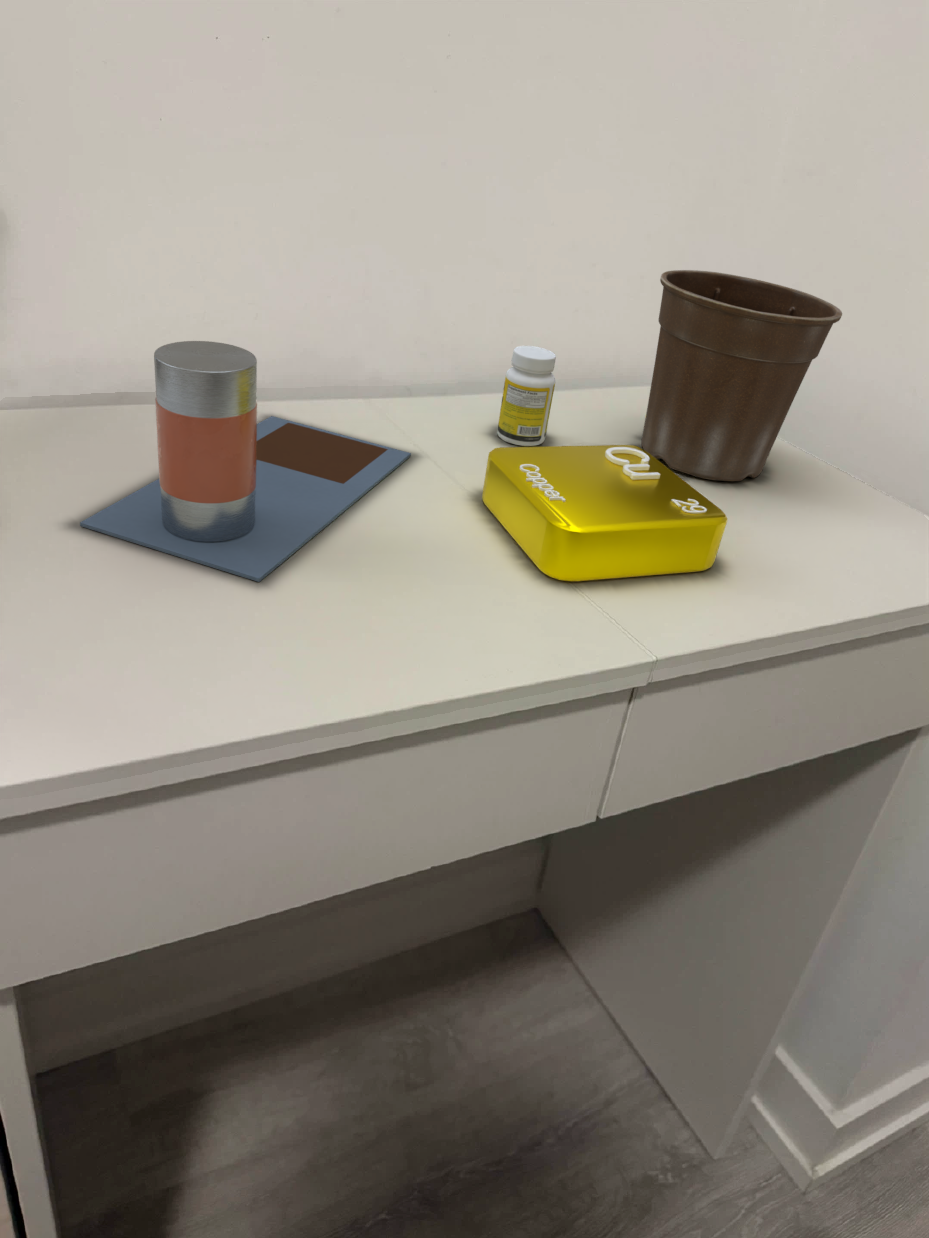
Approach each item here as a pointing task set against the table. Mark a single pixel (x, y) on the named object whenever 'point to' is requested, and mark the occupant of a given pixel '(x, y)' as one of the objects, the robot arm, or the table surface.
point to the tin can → (206, 439)
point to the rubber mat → (267, 499)
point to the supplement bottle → (527, 396)
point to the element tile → (601, 512)
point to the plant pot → (728, 370)
